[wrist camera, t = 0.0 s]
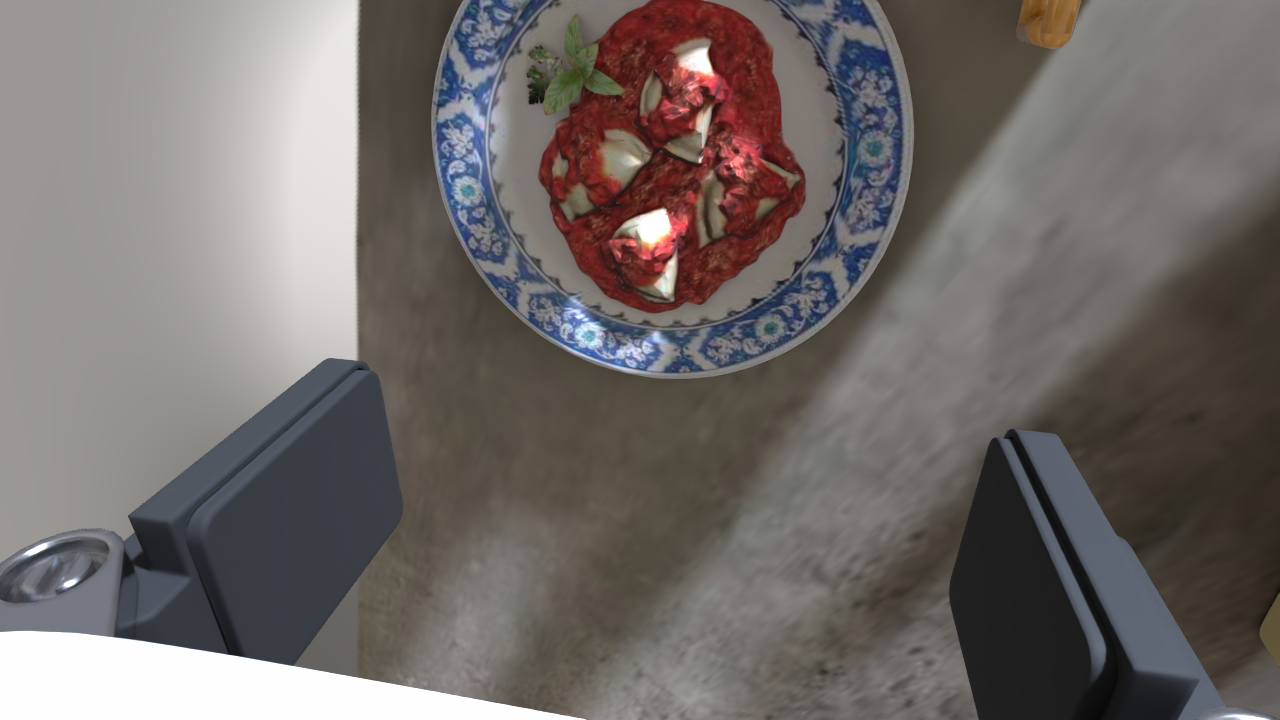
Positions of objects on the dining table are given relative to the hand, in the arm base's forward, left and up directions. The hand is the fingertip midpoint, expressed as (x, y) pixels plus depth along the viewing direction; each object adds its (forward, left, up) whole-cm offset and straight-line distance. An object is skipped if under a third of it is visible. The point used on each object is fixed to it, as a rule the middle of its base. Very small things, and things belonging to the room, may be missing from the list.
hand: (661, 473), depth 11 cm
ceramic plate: (+2, -5, -31) cm, 32 cm away
